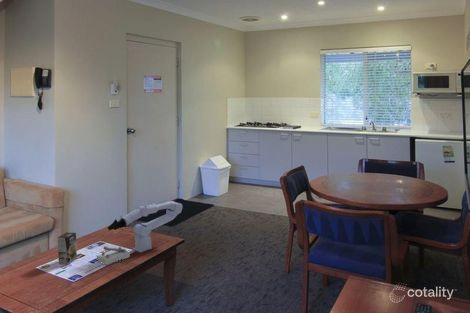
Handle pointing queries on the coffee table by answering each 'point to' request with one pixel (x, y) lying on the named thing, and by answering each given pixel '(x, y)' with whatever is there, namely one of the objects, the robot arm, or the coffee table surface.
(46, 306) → the coffee table surface
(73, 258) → the coffee box
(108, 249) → the strap
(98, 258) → the latch block
